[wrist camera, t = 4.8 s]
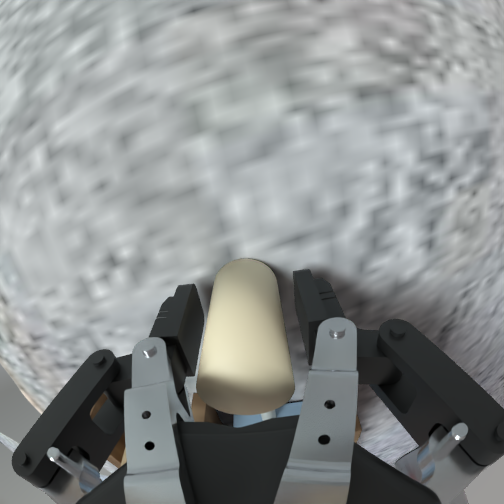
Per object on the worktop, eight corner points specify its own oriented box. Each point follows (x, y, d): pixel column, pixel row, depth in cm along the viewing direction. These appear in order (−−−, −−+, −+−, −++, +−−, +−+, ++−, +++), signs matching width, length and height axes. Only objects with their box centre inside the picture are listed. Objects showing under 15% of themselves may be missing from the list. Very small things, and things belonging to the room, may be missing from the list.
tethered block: (296, 251, 12) (329, 348, 7) (302, 429, 20) (311, 489, 14) (187, 265, 12) (151, 364, 7) (244, 436, 20) (245, 495, 14)
